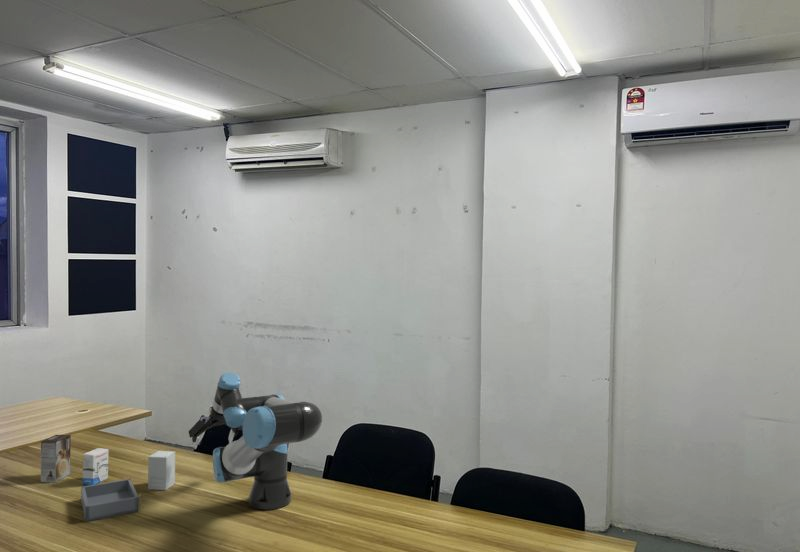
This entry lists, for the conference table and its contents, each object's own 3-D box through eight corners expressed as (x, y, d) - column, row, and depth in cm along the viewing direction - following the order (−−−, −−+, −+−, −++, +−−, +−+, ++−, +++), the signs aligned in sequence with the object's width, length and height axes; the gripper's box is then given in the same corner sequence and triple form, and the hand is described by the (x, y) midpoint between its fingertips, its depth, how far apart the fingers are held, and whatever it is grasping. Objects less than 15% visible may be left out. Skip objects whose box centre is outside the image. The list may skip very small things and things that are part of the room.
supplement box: (175, 483, 217) (176, 451, 217) (165, 490, 210) (166, 457, 210) (157, 482, 218) (158, 450, 218) (147, 489, 210) (147, 456, 210)
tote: (138, 511, 191) (138, 497, 191) (85, 522, 182) (85, 507, 182) (130, 491, 208) (130, 478, 208) (80, 500, 199) (81, 486, 199)
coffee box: (54, 473, 224) (55, 434, 224) (70, 474, 224) (71, 434, 224) (39, 482, 215) (40, 441, 215) (56, 482, 215) (56, 441, 215)
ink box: (92, 485, 213) (93, 455, 213) (81, 484, 214) (82, 454, 214) (108, 477, 221) (109, 448, 221) (97, 476, 222) (98, 447, 222)
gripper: (252, 396, 218) (241, 431, 229) (186, 402, 204) (177, 440, 215) (257, 410, 213) (246, 446, 224) (189, 418, 199) (181, 456, 210)
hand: (212, 443), depth 219 cm, fingers open, 13 cm apart
